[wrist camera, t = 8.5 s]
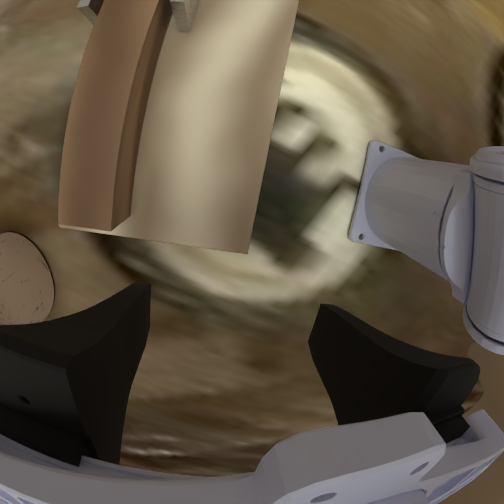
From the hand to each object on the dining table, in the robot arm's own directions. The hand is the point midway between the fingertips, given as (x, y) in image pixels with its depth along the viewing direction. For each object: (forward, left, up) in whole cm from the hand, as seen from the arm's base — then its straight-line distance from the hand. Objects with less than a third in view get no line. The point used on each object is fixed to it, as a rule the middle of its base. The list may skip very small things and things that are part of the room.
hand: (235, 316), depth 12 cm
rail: (+9, -10, -8) cm, 16 cm away
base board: (+6, -12, -9) cm, 16 cm away
